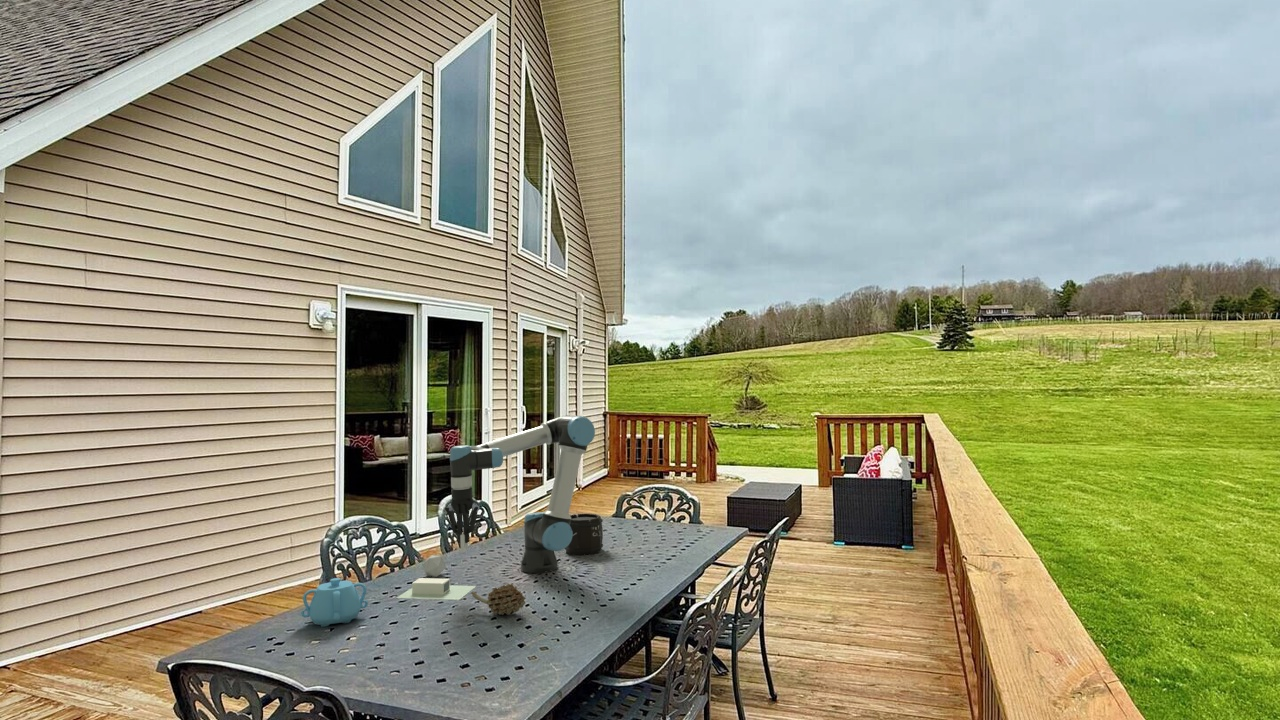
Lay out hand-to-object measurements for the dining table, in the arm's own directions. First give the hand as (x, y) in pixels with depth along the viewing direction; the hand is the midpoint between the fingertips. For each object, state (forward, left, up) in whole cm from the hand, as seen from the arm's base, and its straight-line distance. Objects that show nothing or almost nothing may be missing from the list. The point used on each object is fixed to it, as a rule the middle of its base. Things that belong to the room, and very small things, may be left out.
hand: (464, 551), depth 246 cm
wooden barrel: (-30, -63, -15) cm, 71 cm away
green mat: (+11, 0, -15) cm, 18 cm away
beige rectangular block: (+7, 0, -13) cm, 15 cm away
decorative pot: (+32, +31, -15) cm, 47 cm away
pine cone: (-19, +20, -15) cm, 32 cm away
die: (+22, -21, -15) cm, 33 cm away
